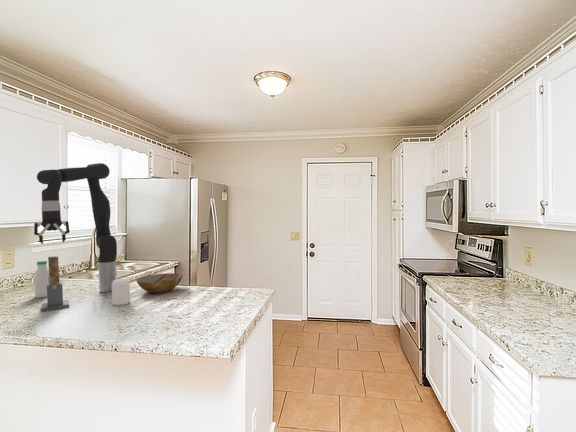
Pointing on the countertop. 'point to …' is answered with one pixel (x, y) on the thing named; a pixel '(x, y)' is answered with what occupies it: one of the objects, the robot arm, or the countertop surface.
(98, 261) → the robot arm
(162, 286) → the bowl
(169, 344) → the countertop surface
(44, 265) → the milk bottle
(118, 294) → the white upright block
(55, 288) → the stand sleeve
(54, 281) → the walnut post
